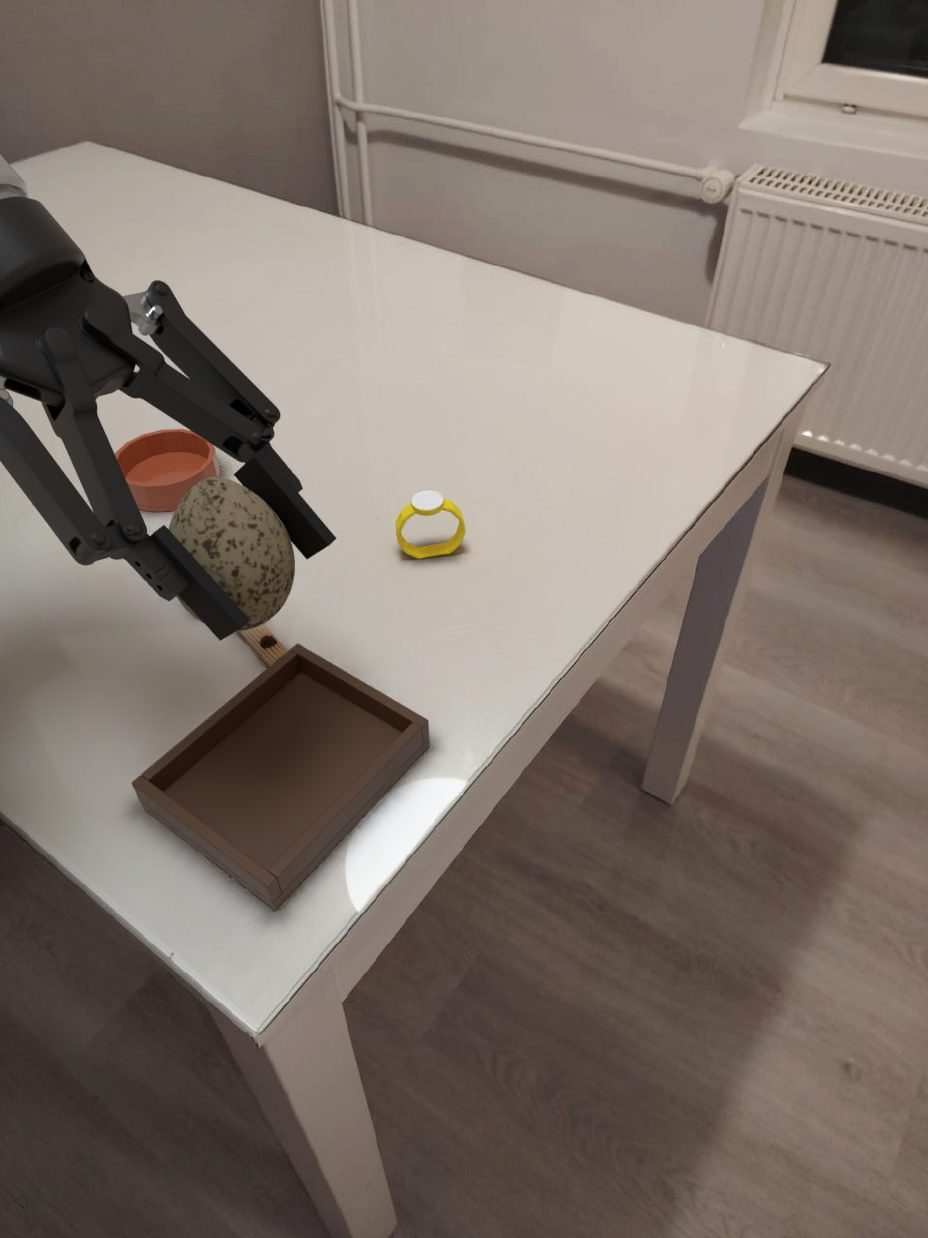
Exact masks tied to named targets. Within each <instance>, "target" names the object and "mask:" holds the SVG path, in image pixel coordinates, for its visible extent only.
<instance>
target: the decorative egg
mask: <svg viewBox="0 0 928 1238" xmlns="http://www.w3.org/2000/svg"><path fill="white" fill-rule="evenodd" d="M173 512H174V513H173V515H172V518H171V519H170V522H169V526H168V529H169V530H170V532H171V533H172V534H173V535H174V536H175V537H176V538H177V539H178V540H179V542H180V543H181V544H182V545H183V546H184V547H185V548H186V549H187V550H188V552H189V553H190V554H191V555H192V556H193V557H194V558H195V559H196V560H197V561H198V563H199V564H200V565H201V566H202V567H203V568H204V569H205V570H206V571H207V573H208V574H209V575H210V576H211V577H212V578H213V579H214V580H215V581H216V583H217V584H218V585H219V586H220V587H221V588H222V589H223V590H224V591H225V593H226V594H227V595H228V596H229V597H230V598H231V599H232V600H233V601H234V603H235V604H236V605H237V606H238V607H239V608H240V609H241V610H242V611H243V613H244V614H245V615H246V616H247V617H248V618H249V619H250V621H249V622H248V623H246V624H245V625H244V626H243V627H242V628H241V629H240V630H238V631H237V632H239V631H243V630H248V629H252V628H255V627H258V626H260V625H262V624H264V625H265V624H266V623H267V622H269V621H270V620H271V619H272V618H274V617H275V616H276V615H277V614H279V612H280V611H281V610H282V609H283V607H284V605H285V604H286V602H287V600H288V598H289V596H290V594H291V591H292V589H293V585H294V580H295V575H296V558H295V553H294V552H295V551H294V547H293V543H292V542H291V539H290V537H289V535H288V532H287V530H286V528H285V526H284V524H283V523H282V522H281V520H280V519H279V517H278V516H277V514H276V513H275V512H274V511H273V510H272V509H271V507H270V506H269V505H268V504H267V503H266V502H265V501H263V500H262V499H261V498H260V497H259V496H258V495H256V494H255V493H253V492H252V491H251V490H249V489H248V488H246V487H244V486H243V485H242V484H241V483H240V482H239V483H238V482H237V481H234V480H232V479H229V478H225V477H221V476H220V477H209V478H205V479H203V480H201V481H200V482H198V483H197V484H195V485H194V486H193V487H192V488H191V489H190V490H189V491H188V492H187V494H186V495H185V496H184V497H183V499H182V500H181V502H180V503H179V505H178V507H177V508H176V510H174V511H173ZM175 598H177V600H178V601H179V602H180V604H181V605H182V607H184V609H185V610H186V611H187V612H188V613H189V614H190V615H191V616H192V617H194V618H195V619H196V620H198V621H199V622H201V623H203V622H202V621H201V619H200V618H199V617H198V616H197V615H196V614H195V613H194V612H193V611H192V610H191V609H190V608H189V606H188V605H187V604H186V603H185V602H184V601H183V600H182V599H181V598H180V597H179V596H178V595H177V596H176V597H175Z"/></svg>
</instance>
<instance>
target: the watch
mask: <svg viewBox="0 0 928 1238" xmlns="http://www.w3.org/2000/svg"><path fill="white" fill-rule="evenodd" d="M442 511H445V512H448V513H451V515H453V516H454V517H455V518H456V519H457V520H458V525H457V529H456V531H455V534H454V535H452V536H451V537H450V538H449V539H447V541H446V542H440V543H434V544H429V545H423V546H417V545H415V544H413V543H410V542H408V541H407V540H406V539H405V537H404V536H403V535H402V531H403V529H404V527H405V525H406V523H407V521H408V520H410V518H412V517H413V516H415V515H416V514H417V515H418V516H423V517H430V516H434V515H437V514H439V513H441V512H442ZM395 535H396V540H397V543H398V546H399V547H400V548H401V550H402V551H403V552H404V553H405V554H407V555H408V556H411V557H413V558H415V559H417V560H421V559H425V558H430V557H437V556H444V555H450V554H452V553H453V552H454V551H455V550H456V549H457V548H458V547H459V546H461V544H462V543H463V540H464V538H465V535H466V525H465V520H464V515H463V513H462V511H461V509H460V508H459V507H458V506H457V505H456V504H455V503H454V502H453V501H451V500H450V499H447V498H444V497H443V494H441V493H440V492H438V491H436V490H429V489H427V490H422V491H419V492H417V493H415V494H414V495H413V496H412V498H411V500H410V503H409V504H407V505H406V506H404V507H403V508H402V509H401V510H400V512H399V514H398V515H397V517H396V520H395Z"/></svg>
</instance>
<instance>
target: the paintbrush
mask: <svg viewBox="0 0 928 1238" xmlns="http://www.w3.org/2000/svg"><path fill="white" fill-rule="evenodd" d="M238 632H239V633H240V634H241V635H242V636H243V638H244V639H245V640H246V641H247V642H248V644H249V645H251V647H252V648H253V649H254V650H255V651H256V652H257V654H258V655H259V656H260V657H261V658H262V660H263V661H264V662H265V663H266V664H267V665H268V667H270V666H271V665H272V664H273V663H275V662H276V661H277V660H278V659H279V658H280V657H282V656H283V655H284V654H285V653H286V652H288V651H289V650H288V649H287V648H286V647H285V645H284V644H283V643H282V642H281V641H280V640H279V638H277V637H276V636H275V634H274V633H273V632H272V631H271V630H270V629H269V628H268V627H267V626H266V624H265V623H264V624H262V625H260V626H258V627H255V628H252V629H248V630H243V631H238Z"/></svg>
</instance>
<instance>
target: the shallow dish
mask: <svg viewBox="0 0 928 1238" xmlns="http://www.w3.org/2000/svg"><path fill="white" fill-rule="evenodd" d="M114 454H115V456H116V458H117V461H118V463H119V465H120V467H121V470H122V472H123V474H124V477H125V479H126V481H127V483H128V486H129V488H130V490H131V493H132V495H133V497H134V499H135V502H136V504H137V506H138V508H139V510H142V511H145V512H154V513H159V512H160V513H162V512H173V511H175V510H176V508H177V507H178V505H179V503H180V502H181V500H182V499H183V497H184V496H185V495H186V494H187V492H188V491H189V490H190V489H191V488H192V487H193V486H194V485H195V484H197V483H198V482H200V481H201V480H203V479H205V478H209V477H221V467H220V464H219V458H218V454H217V451H216V447H215V446H214V445H212V444H211V443H209V442H208V441H206V440H205V439H203V438H202V437H200V436H198V435H197V434H195V433H194V432H192V431H191V430H189V429H184V428H172V429H171V428H168V429H167V428H166V429H159V430H155V431H151V432H148V433H143V434H141V435H138V436H137V437H134V438H133V439H131V440H129V441H126V442H125V443H124V444H123V445H122V446H120V447H119V448H118V450H117V451H116V452H114Z"/></svg>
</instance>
